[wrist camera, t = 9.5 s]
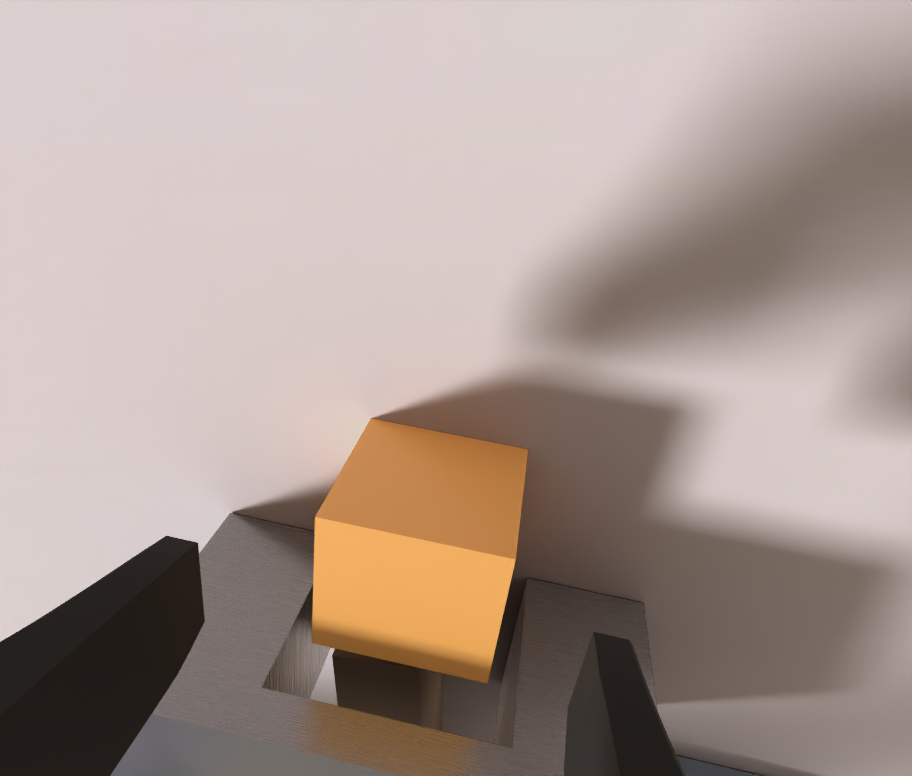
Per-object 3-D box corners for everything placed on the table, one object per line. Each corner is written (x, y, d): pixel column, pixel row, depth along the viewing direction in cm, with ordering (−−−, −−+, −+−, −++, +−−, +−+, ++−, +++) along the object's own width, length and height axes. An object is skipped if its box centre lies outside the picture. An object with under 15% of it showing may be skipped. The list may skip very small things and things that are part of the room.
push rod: (441, 809, 26) (423, 913, 23) (385, 799, 26) (359, 900, 23) (443, 572, 20) (418, 668, 17) (370, 563, 20) (332, 655, 17)
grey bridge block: (603, 708, 21) (614, 952, 15) (236, 622, 22) (117, 820, 16) (643, 603, 19) (674, 844, 13) (230, 513, 20) (89, 698, 14)
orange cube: (504, 557, 19) (487, 683, 15) (363, 527, 19) (311, 642, 15) (528, 447, 17) (515, 559, 13) (372, 417, 17) (314, 517, 14)
